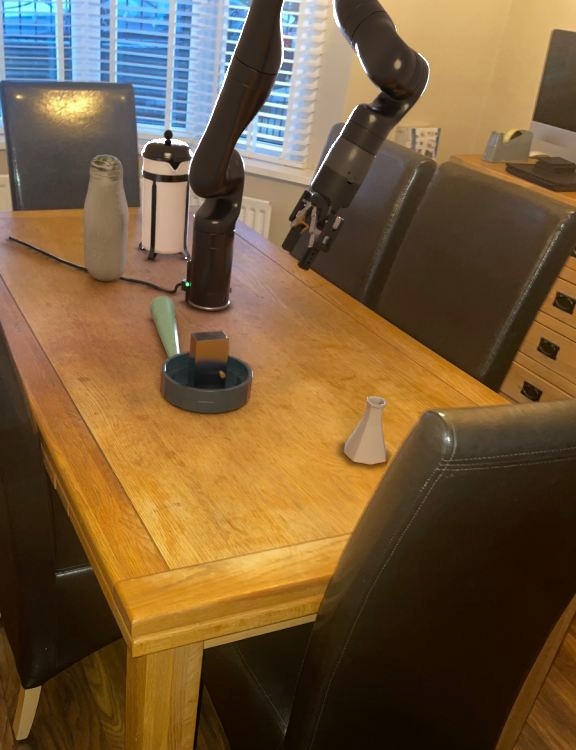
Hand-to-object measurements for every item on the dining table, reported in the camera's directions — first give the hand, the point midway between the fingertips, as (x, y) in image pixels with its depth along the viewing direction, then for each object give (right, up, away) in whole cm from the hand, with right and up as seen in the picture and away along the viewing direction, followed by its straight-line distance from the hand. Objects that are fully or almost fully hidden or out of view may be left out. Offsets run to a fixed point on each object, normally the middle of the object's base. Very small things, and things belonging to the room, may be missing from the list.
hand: (293, 259), depth 140 cm
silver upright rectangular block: (-16, -23, +4) cm, 28 cm away
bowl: (-16, -24, +4) cm, 29 cm away
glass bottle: (-39, +11, +50) cm, 64 cm away
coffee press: (-26, +24, +69) cm, 78 cm away
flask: (+11, -36, -9) cm, 38 cm away
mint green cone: (-23, -11, +21) cm, 33 cm away
